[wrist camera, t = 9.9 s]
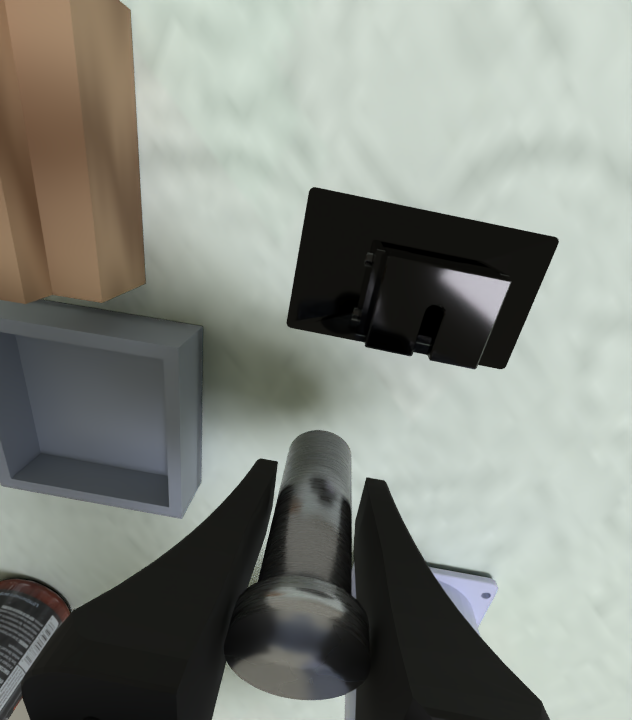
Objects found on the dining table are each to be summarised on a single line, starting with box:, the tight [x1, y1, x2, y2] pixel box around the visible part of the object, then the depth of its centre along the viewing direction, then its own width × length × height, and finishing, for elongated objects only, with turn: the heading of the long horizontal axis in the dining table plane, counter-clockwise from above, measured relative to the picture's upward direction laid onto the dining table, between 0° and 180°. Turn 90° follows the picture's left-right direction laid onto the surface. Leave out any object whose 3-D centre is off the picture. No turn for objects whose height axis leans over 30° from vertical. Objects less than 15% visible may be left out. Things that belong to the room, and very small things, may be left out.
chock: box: [0, 0, 146, 304], centre depth 12 cm, size 9×3×4 cm, turn 172°
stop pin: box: [224, 430, 371, 700], centre depth 11 cm, size 3×3×7 cm
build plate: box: [287, 187, 559, 369], centre depth 13 cm, size 12×7×5 cm, turn 80°
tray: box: [0, 299, 203, 519], centre depth 17 cm, size 9×9×2 cm
